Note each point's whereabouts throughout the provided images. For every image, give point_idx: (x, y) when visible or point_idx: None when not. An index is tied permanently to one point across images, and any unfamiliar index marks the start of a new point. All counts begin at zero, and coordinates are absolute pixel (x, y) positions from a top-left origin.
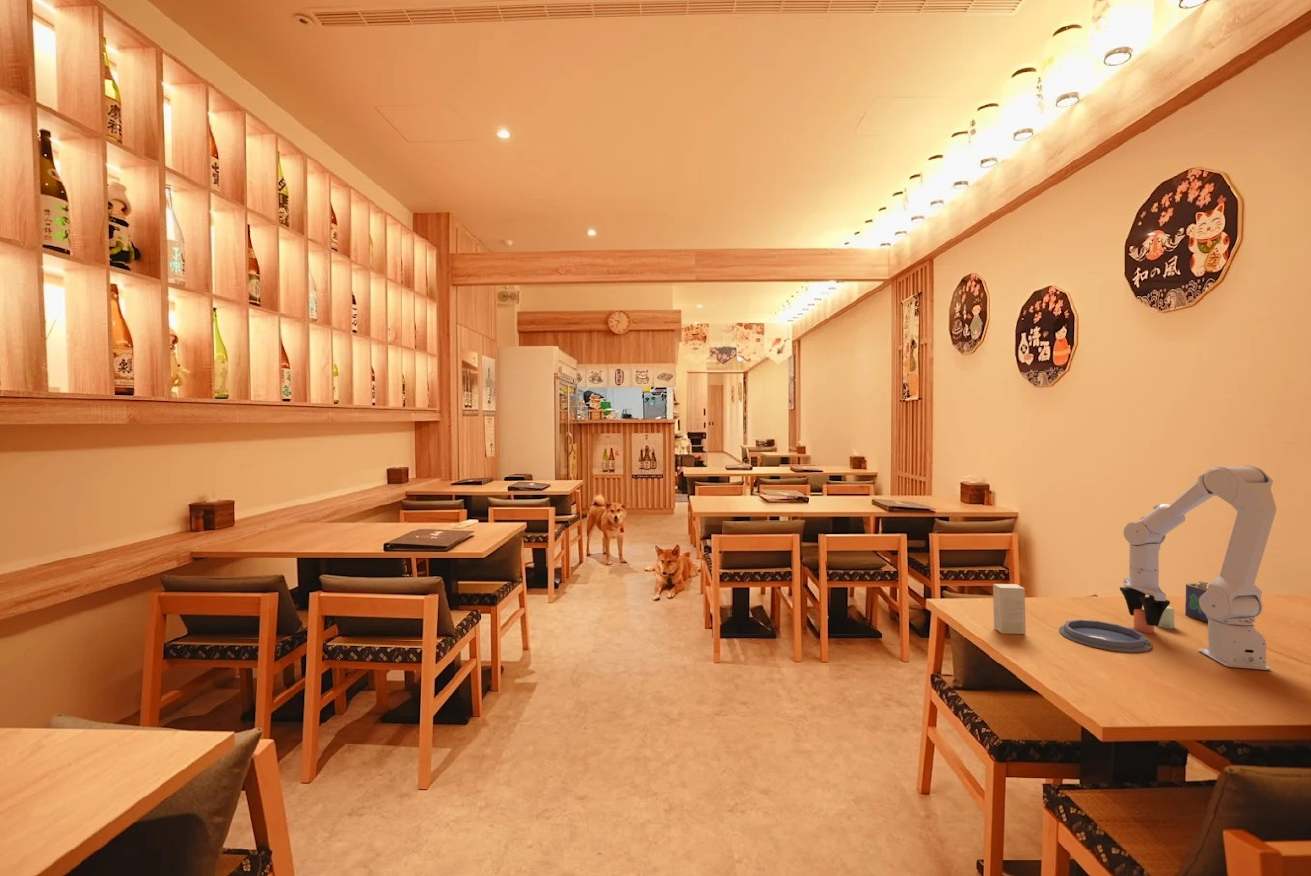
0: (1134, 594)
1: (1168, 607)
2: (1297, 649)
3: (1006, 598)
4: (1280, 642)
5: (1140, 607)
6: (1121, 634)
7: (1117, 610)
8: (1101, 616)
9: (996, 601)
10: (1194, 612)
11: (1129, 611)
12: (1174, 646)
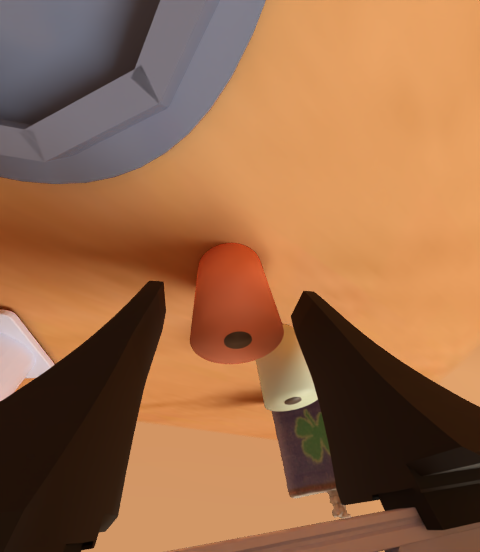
0: (364, 427)
1: (289, 406)
2: (158, 422)
3: None
4: (190, 419)
5: (306, 352)
6: (60, 54)
7: (421, 305)
8: (413, 214)
9: None
10: (316, 404)
11: (319, 300)
12: (30, 266)
